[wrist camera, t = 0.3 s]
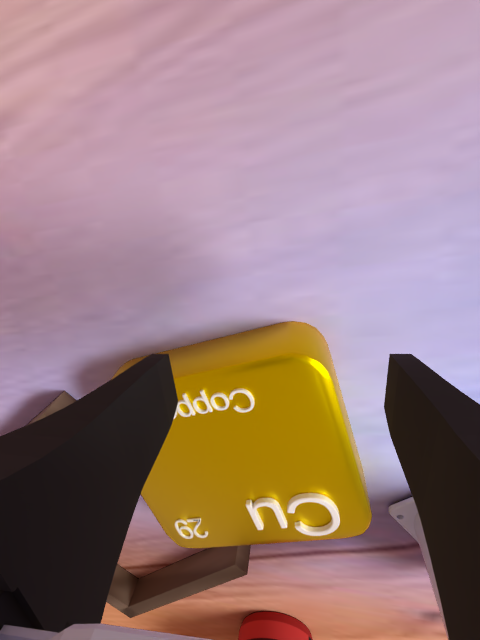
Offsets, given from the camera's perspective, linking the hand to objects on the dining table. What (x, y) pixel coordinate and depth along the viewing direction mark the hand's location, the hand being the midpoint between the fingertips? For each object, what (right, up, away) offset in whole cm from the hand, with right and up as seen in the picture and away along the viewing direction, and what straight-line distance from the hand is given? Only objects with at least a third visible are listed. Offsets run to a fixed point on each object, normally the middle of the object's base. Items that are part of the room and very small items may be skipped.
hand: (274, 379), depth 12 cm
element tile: (-1, -6, +15) cm, 16 cm away
